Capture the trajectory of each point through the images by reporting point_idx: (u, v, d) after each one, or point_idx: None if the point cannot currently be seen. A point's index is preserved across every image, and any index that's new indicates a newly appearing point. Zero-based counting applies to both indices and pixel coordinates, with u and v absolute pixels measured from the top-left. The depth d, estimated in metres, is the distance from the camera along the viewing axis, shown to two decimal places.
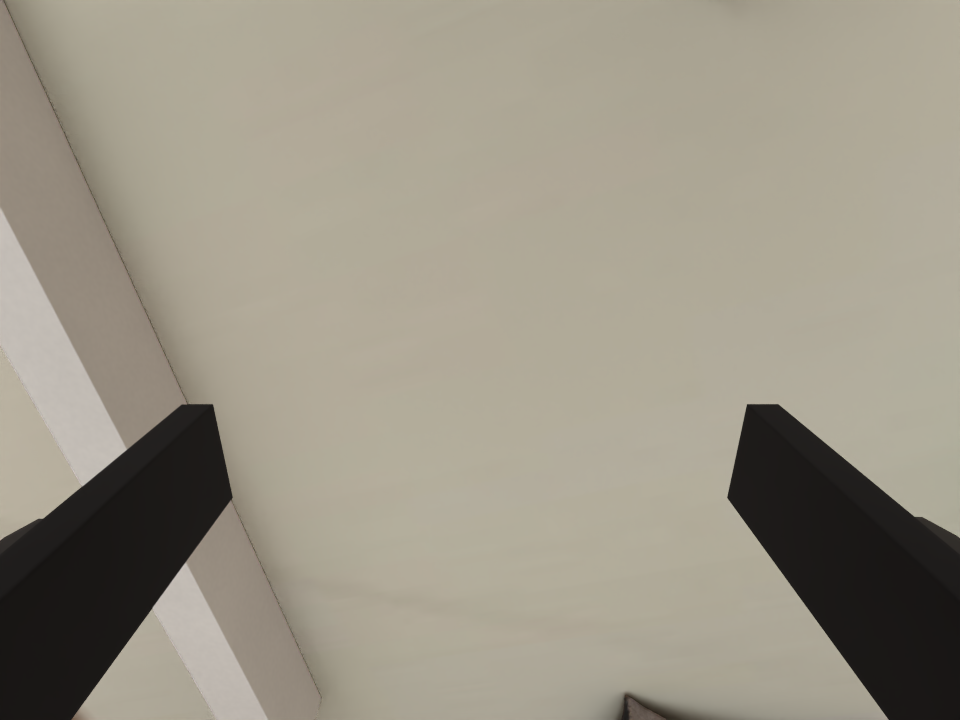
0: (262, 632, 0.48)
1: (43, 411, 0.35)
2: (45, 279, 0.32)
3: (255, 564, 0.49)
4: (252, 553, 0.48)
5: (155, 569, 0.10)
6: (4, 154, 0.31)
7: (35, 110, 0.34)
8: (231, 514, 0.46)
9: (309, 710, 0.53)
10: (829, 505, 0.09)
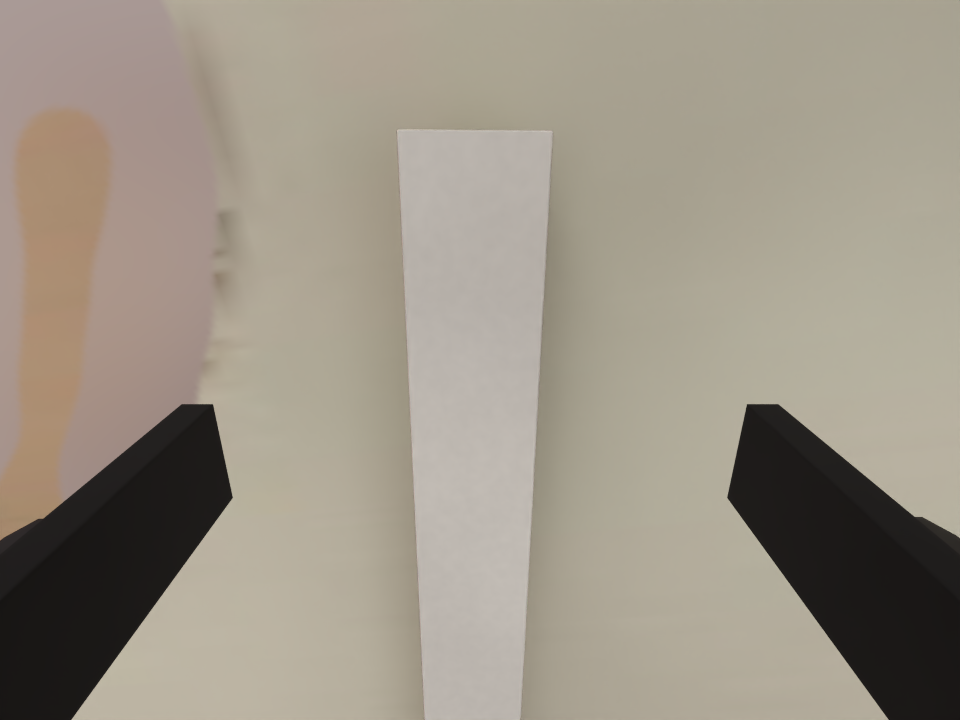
0: None
1: None
2: None
3: None
4: None
5: (155, 569, 0.10)
6: None
7: None
8: None
9: None
10: (829, 505, 0.09)
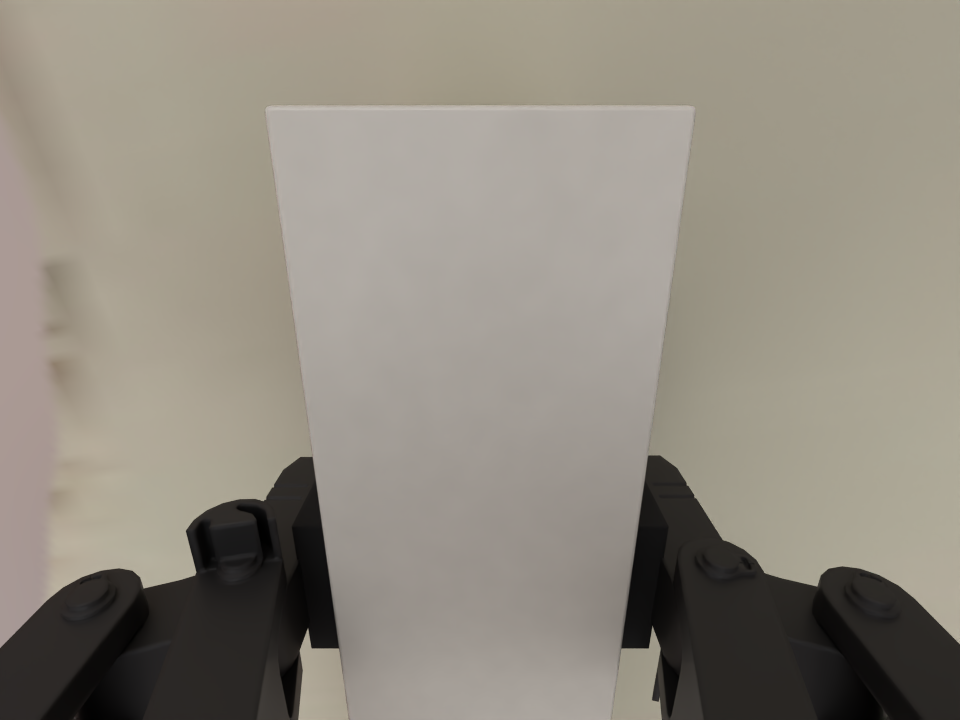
0: None
1: None
2: None
3: None
4: None
5: None
6: None
7: None
8: None
9: None
10: None
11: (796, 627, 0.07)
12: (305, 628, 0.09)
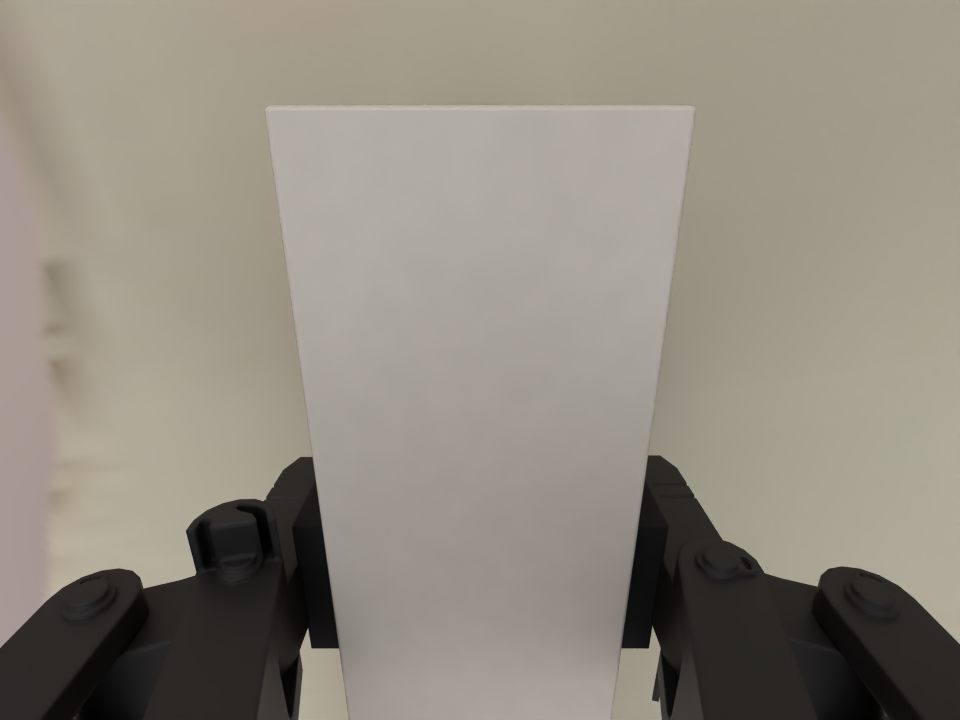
0: None
1: None
2: None
3: None
4: None
5: None
6: None
7: None
8: None
9: None
10: None
11: (797, 627, 0.07)
12: (305, 628, 0.09)
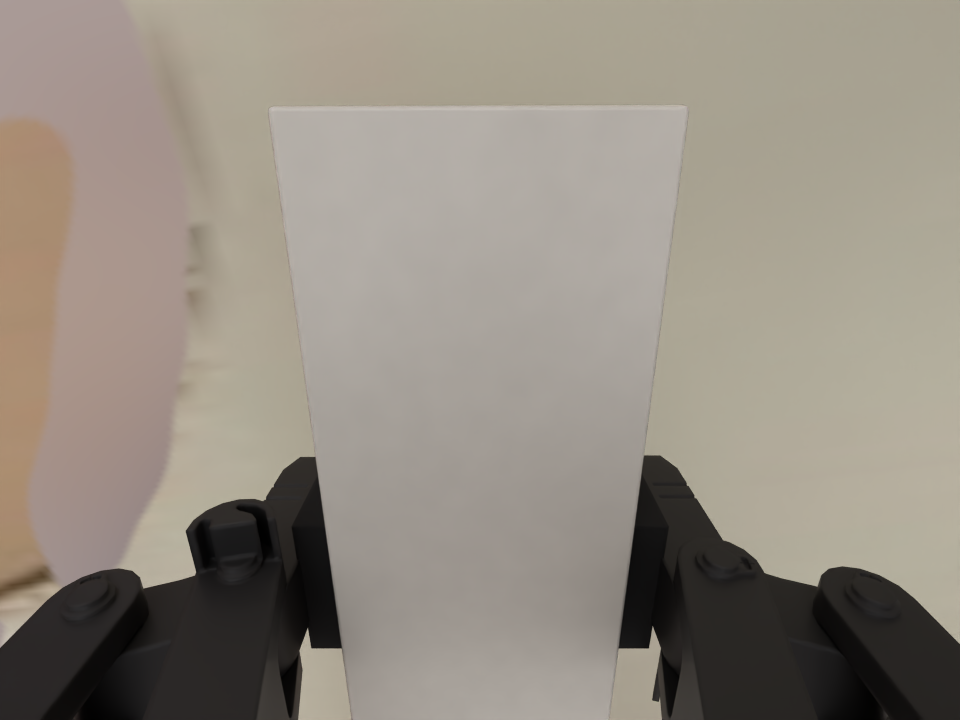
0: None
1: None
2: None
3: None
4: None
5: None
6: None
7: None
8: None
9: None
10: None
11: (797, 627, 0.07)
12: (305, 628, 0.09)
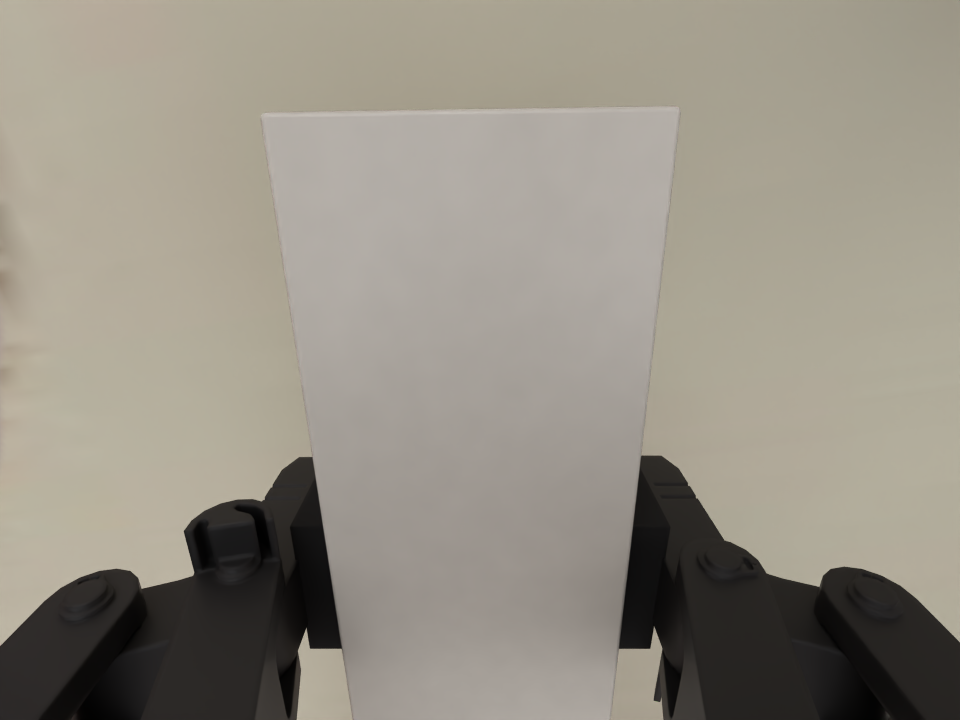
0: None
1: None
2: None
3: None
4: None
5: None
6: None
7: None
8: None
9: None
10: None
11: (798, 627, 0.07)
12: (304, 628, 0.09)
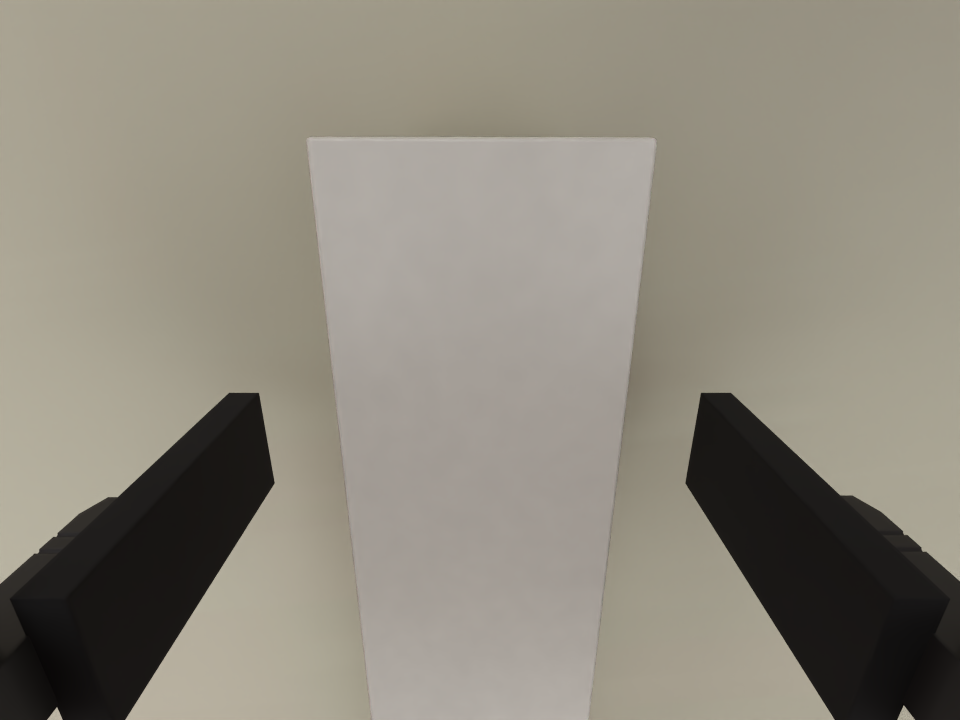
0: None
1: None
2: None
3: None
4: None
5: (214, 546, 0.11)
6: None
7: None
8: None
9: None
10: (765, 484, 0.10)
11: None
12: (46, 714, 0.07)
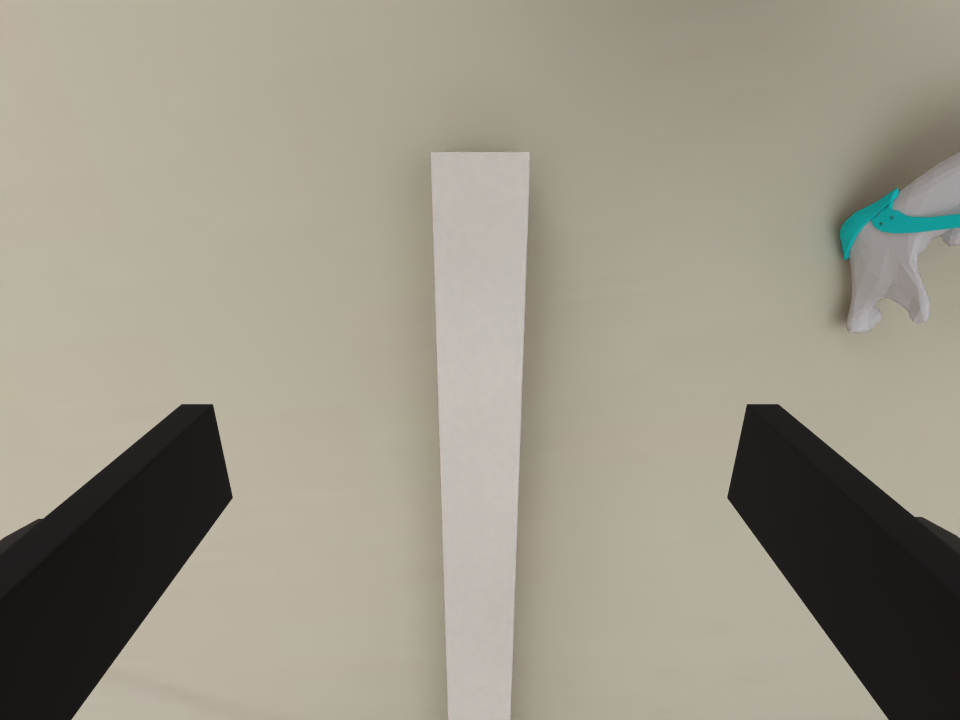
0: None
1: (451, 641, 0.35)
2: None
3: None
4: None
5: (155, 569, 0.10)
6: None
7: None
8: None
9: None
10: (829, 505, 0.09)
11: None
12: None
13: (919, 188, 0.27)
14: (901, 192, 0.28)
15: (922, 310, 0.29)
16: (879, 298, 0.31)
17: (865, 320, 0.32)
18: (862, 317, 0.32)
